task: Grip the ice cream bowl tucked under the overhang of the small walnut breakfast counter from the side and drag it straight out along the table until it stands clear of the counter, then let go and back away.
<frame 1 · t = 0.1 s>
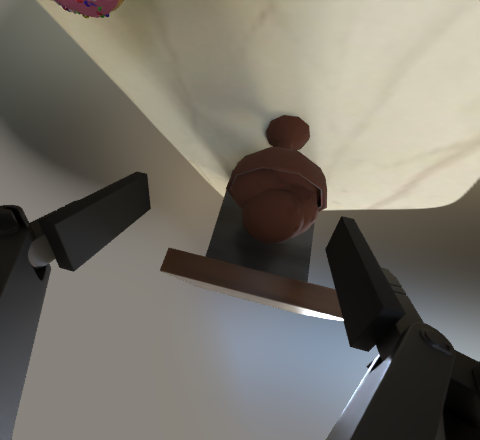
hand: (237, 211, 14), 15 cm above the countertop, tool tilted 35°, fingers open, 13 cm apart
ice cream bowl: (287, 132, 26), on the countertop
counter: (279, 161, 31), on the countertop
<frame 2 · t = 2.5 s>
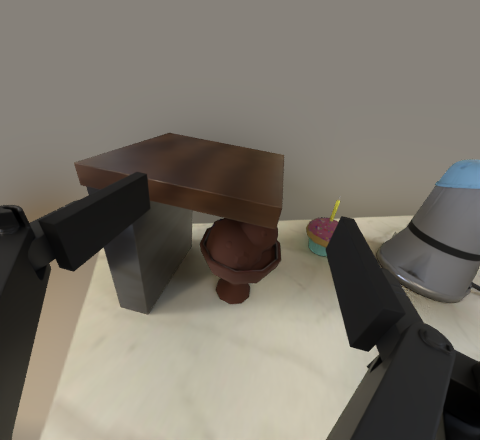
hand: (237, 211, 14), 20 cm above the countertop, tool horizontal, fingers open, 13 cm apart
ice cream bowl: (233, 289, 33), on the countertop
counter: (200, 280, 33), on the countertop
cupcake: (319, 250, 45), on the countertop
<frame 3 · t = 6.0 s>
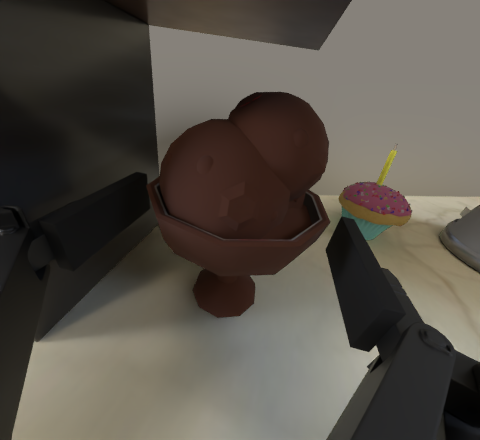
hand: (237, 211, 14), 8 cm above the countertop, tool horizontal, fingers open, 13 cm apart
ice cream bowl: (224, 289, 18), on the countertop
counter: (166, 273, 19), on the countertop
cupcake: (357, 231, 30), on the countertop
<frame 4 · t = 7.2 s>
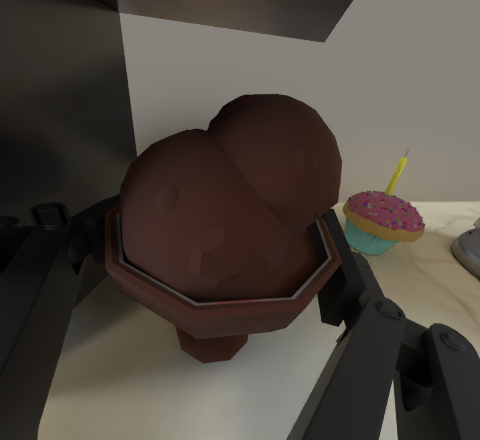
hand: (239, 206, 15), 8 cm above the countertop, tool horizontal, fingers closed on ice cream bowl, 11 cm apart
ice cream bowl: (213, 323, 16), on the countertop, touching gripper
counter: (145, 304, 16), on the countertop
cupcake: (363, 245, 28), on the countertop
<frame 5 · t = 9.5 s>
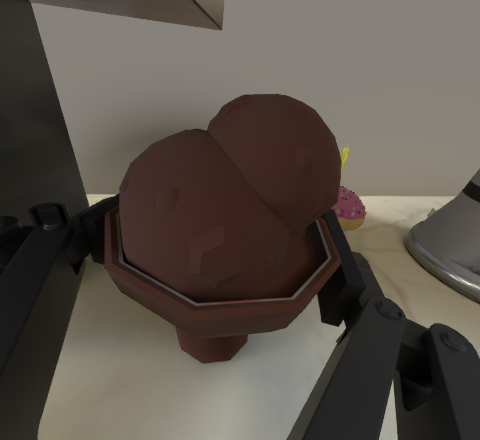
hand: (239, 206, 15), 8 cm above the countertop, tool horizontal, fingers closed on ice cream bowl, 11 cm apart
ice cream bowl: (213, 323, 16), on the countertop, touching gripper
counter: (72, 286, 16), on the countertop
cupcake: (315, 235, 28), on the countertop
when the fingers open (8 cm above the countertop, at t = 12.2 s): ice cream bowl stays where it is, on the countertop.
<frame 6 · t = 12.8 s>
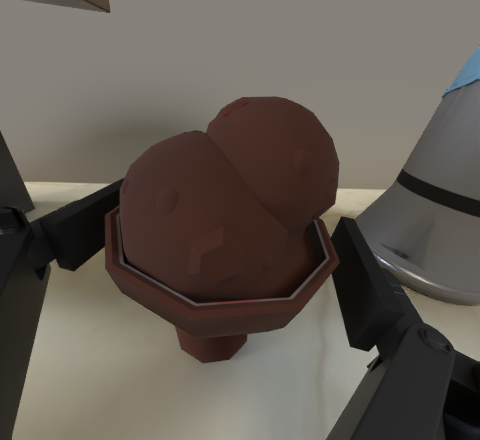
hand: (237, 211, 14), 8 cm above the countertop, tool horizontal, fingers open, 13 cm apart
ice cream bowl: (213, 323, 16), on the countertop
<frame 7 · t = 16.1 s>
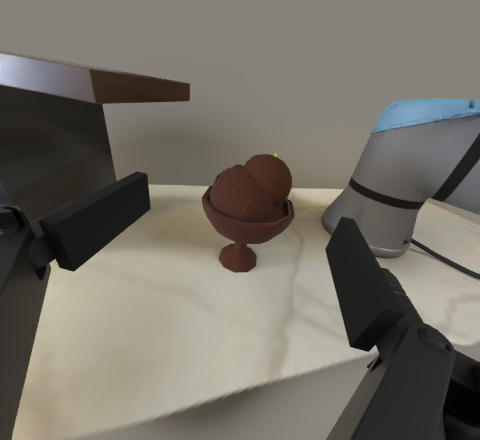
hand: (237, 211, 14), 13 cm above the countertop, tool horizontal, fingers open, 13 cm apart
ice cream bowl: (237, 259, 30), on the countertop
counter: (113, 227, 31), on the countertop
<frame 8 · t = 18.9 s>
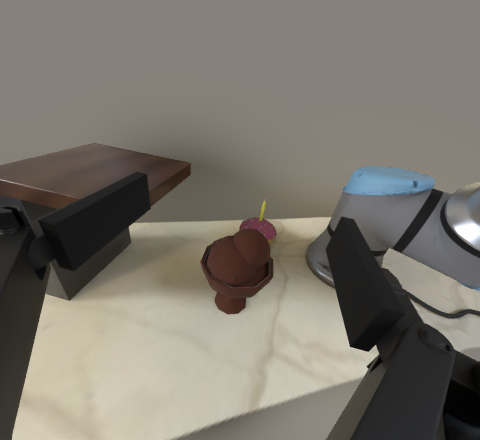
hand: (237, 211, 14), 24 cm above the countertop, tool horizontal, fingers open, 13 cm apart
ice cream bowl: (230, 300, 36), on the countertop
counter: (128, 272, 37), on the countertop
cupcake: (254, 247, 49), on the countertop
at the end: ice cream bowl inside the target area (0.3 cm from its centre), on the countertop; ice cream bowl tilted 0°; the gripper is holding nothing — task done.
